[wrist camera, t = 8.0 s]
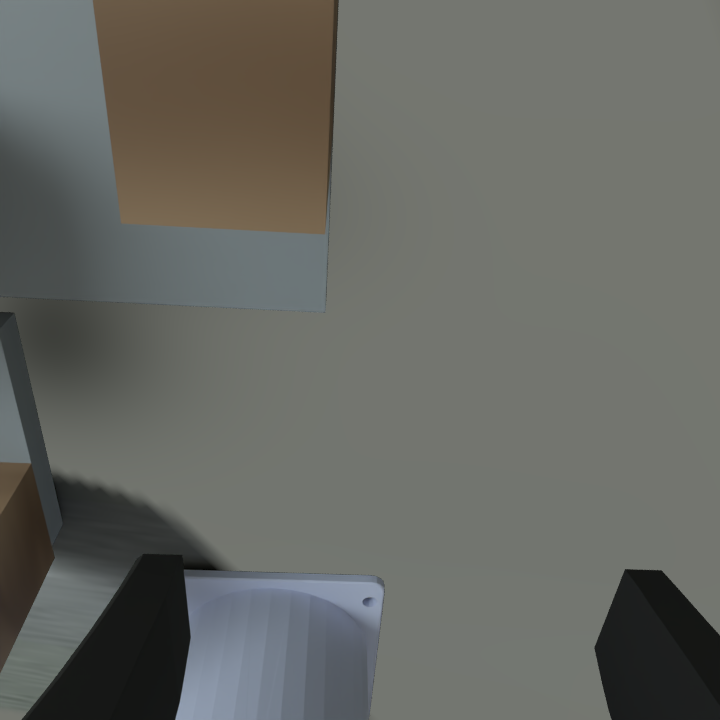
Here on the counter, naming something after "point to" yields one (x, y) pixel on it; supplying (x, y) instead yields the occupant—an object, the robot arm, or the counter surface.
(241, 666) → the robot arm
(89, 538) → the counter surface
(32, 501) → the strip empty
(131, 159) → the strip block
